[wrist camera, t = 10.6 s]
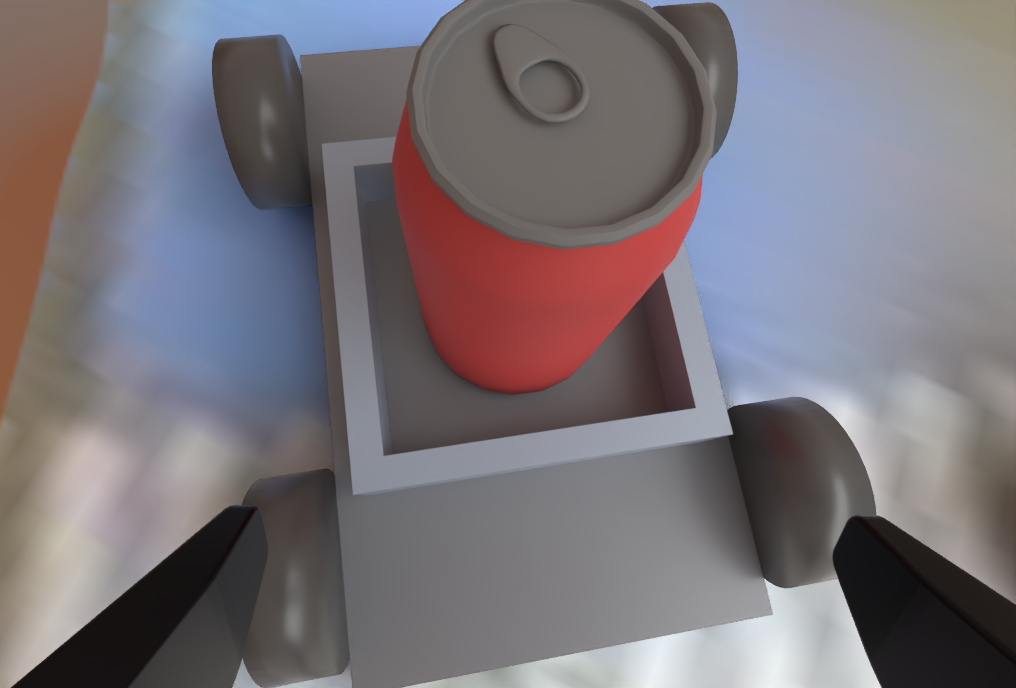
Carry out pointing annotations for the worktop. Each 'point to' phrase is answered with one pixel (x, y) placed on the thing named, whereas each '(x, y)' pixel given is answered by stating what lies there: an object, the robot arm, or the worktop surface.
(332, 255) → the chassis
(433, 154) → the beer can
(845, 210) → the worktop surface
